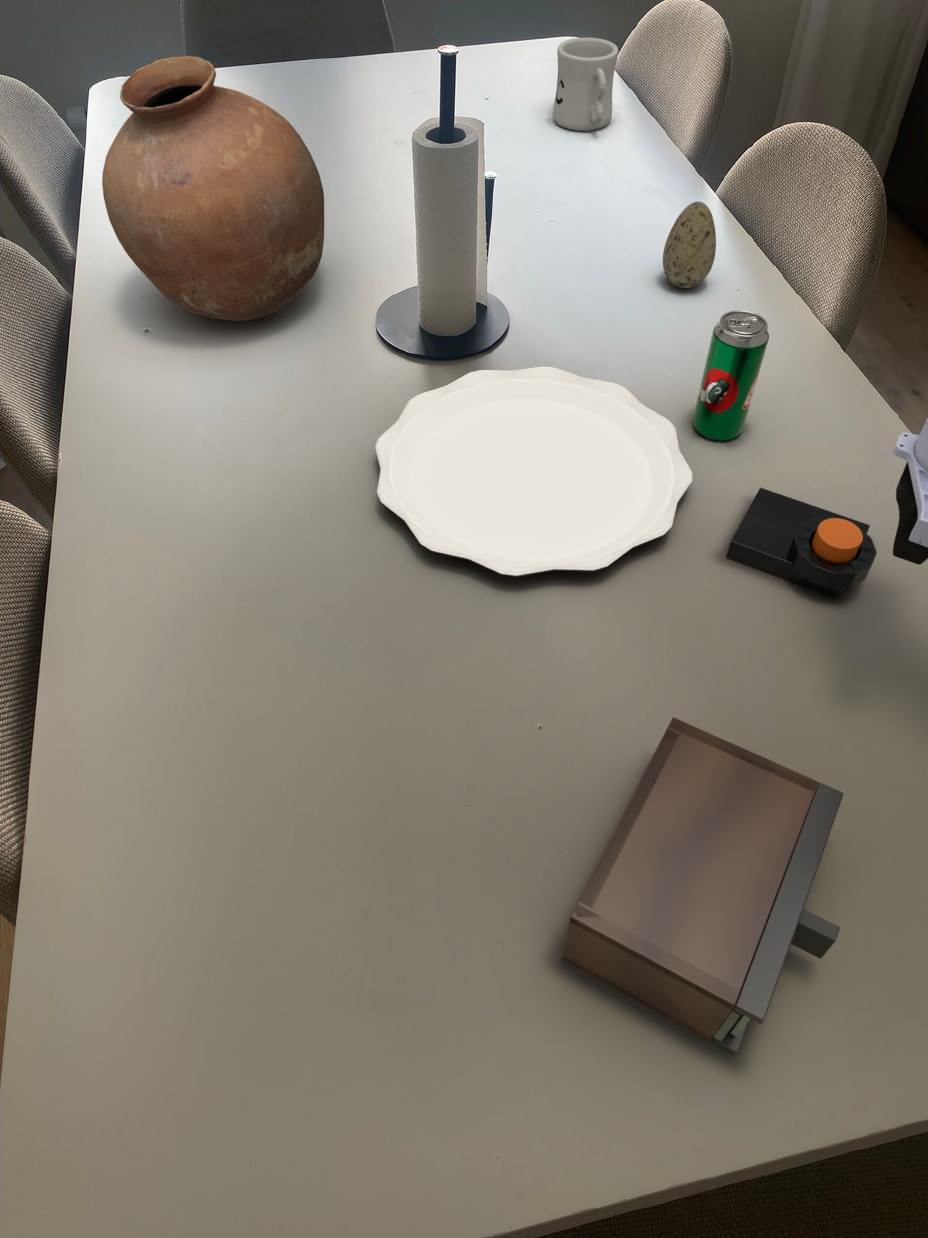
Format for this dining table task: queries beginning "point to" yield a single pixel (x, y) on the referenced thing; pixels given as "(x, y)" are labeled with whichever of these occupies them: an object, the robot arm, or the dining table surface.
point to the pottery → (212, 193)
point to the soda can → (730, 374)
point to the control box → (796, 545)
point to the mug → (585, 83)
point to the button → (837, 540)
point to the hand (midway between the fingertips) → (908, 554)
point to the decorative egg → (690, 246)
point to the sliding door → (805, 946)
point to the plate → (532, 471)
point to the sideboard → (703, 883)
